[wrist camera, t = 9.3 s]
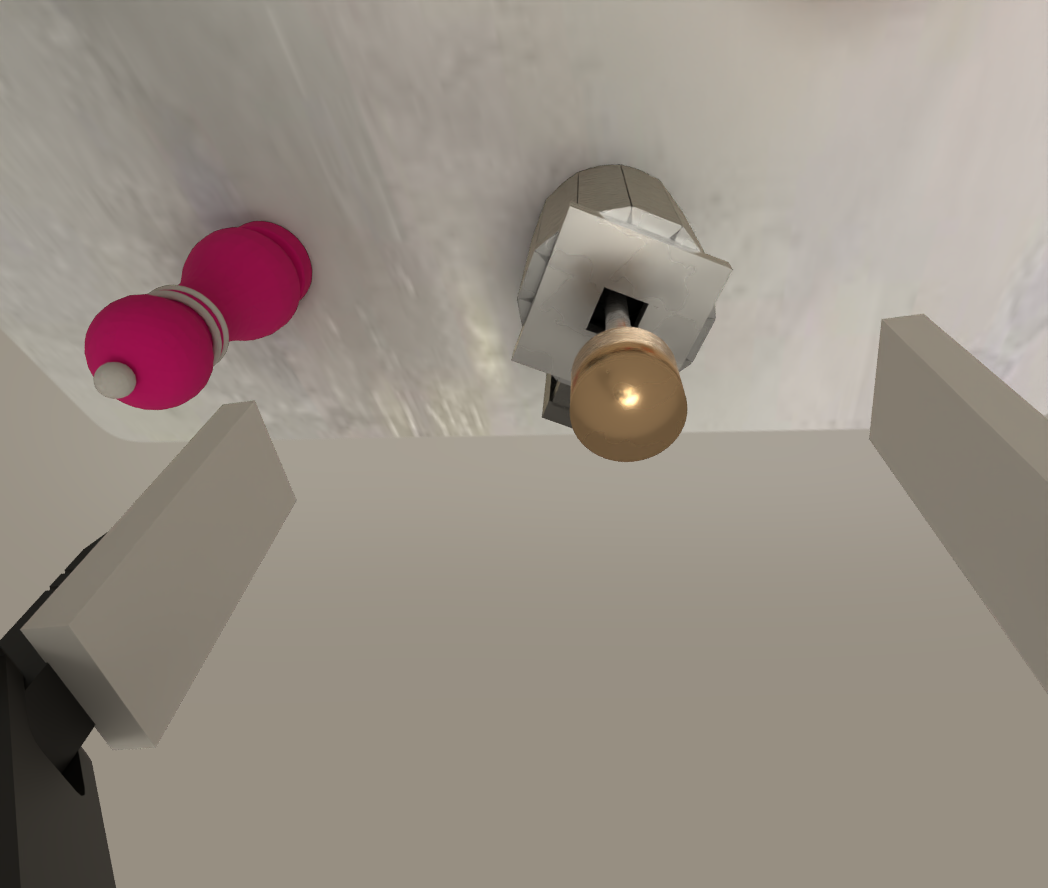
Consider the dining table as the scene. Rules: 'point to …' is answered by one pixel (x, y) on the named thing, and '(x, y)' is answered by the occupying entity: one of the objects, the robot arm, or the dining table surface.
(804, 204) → the dining table surface
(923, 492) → the robot arm
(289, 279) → the pepper mill
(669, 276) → the faceted grey canister
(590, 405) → the plunger
